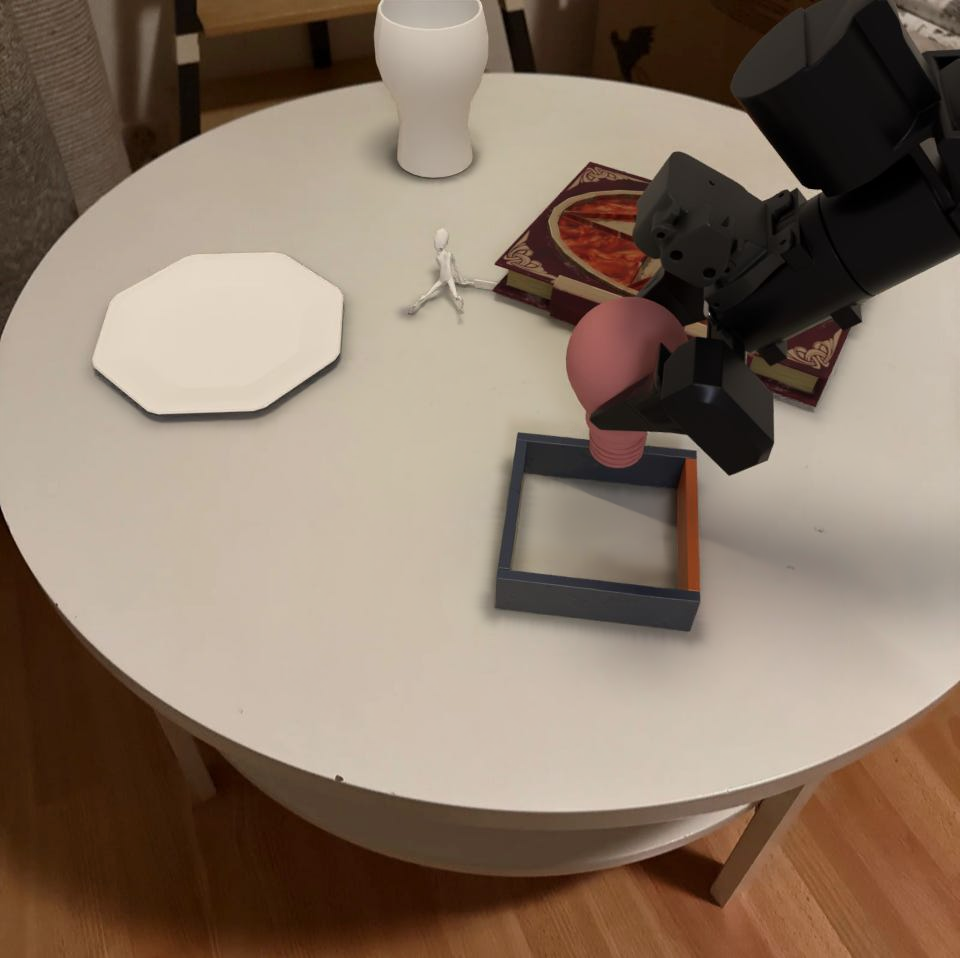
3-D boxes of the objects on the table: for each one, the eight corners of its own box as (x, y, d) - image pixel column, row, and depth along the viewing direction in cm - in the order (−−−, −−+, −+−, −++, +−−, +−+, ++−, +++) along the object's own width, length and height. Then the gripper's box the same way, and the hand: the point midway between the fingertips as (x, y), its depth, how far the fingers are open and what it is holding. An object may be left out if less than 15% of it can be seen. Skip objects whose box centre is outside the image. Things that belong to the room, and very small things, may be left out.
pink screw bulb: (574, 507, 57) (591, 364, 48) (545, 425, 61) (555, 280, 52) (683, 489, 58) (720, 344, 49) (646, 409, 62) (674, 263, 53)
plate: (202, 464, 68) (198, 451, 67) (56, 344, 77) (49, 330, 75) (392, 333, 78) (391, 320, 77) (243, 239, 86) (240, 225, 85)
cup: (497, 179, 92) (501, 26, 81) (392, 192, 91) (381, 38, 79) (473, 125, 99) (474, -23, 87) (375, 137, 97) (363, -13, 86)
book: (873, 277, 84) (893, 229, 80) (812, 417, 71) (833, 367, 67) (588, 188, 92) (594, 141, 88) (488, 299, 79) (490, 250, 76)
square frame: (687, 482, 67) (696, 450, 64) (690, 632, 59) (700, 602, 56) (515, 464, 68) (517, 431, 65) (494, 608, 60) (495, 578, 57)
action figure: (546, 342, 78) (562, 276, 82) (543, 301, 74) (559, 233, 77) (412, 328, 81) (432, 265, 84) (400, 287, 76) (422, 222, 80)
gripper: (756, 31, 47) (534, 197, 57) (755, 245, 35) (476, 408, 45) (866, 183, 52) (645, 312, 62) (898, 416, 40) (618, 529, 50)
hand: (601, 378), depth 55 cm, fingers closed on pink screw bulb, 7 cm apart
